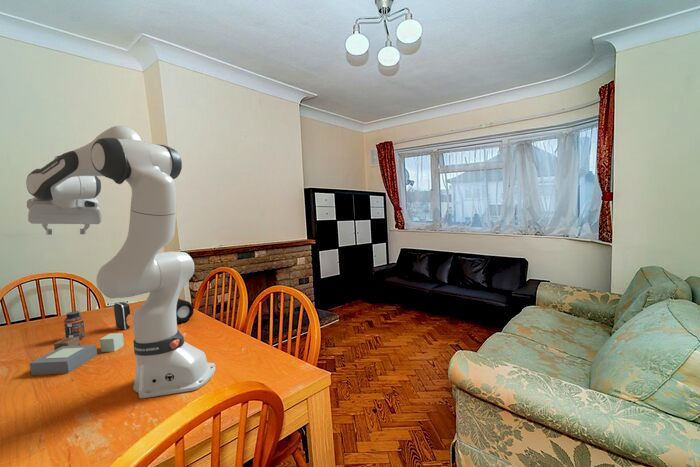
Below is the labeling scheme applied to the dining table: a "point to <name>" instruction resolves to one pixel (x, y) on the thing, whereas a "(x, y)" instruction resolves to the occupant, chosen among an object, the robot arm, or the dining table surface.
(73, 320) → the supplement bottle
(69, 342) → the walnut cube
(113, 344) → the sage cube
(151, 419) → the dining table surface
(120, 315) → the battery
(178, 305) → the portable speaker
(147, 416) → the dining table surface
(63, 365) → the base block
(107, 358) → the dining table surface
